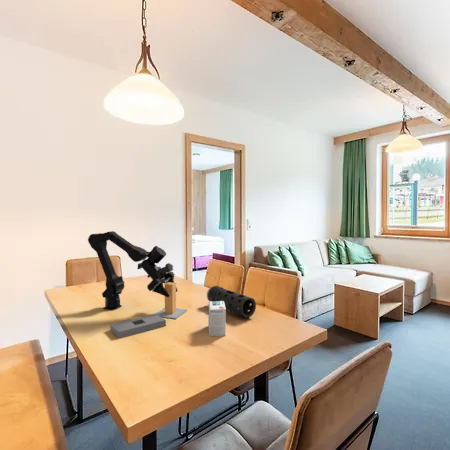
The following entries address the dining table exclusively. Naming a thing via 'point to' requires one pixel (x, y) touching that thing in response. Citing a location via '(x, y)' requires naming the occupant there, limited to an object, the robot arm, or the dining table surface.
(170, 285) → the plug
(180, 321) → the dining table surface
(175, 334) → the dining table surface
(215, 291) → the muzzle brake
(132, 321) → the grey square-hole plate
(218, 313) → the light bulb box
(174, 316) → the mat
